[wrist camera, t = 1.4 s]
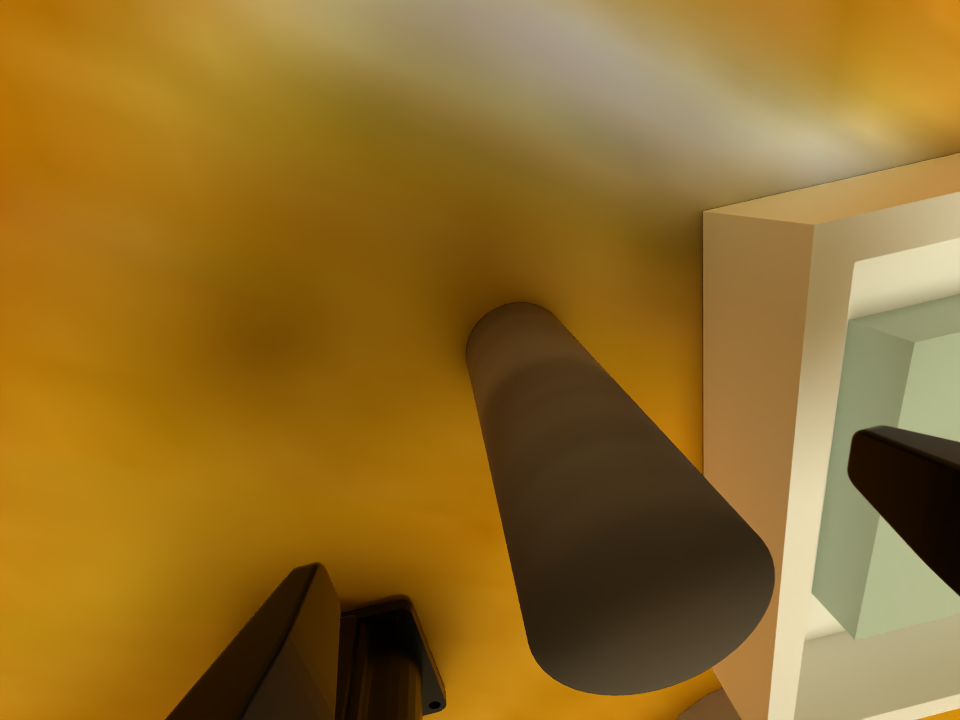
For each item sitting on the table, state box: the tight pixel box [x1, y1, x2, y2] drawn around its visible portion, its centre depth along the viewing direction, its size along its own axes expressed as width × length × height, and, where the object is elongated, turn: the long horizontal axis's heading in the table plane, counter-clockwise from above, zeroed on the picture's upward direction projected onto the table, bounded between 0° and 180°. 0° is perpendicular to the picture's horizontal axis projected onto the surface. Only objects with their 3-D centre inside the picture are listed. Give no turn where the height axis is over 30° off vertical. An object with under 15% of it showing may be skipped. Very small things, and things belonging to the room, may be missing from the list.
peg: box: [466, 302, 775, 696], centre depth 10 cm, size 3×3×9 cm
